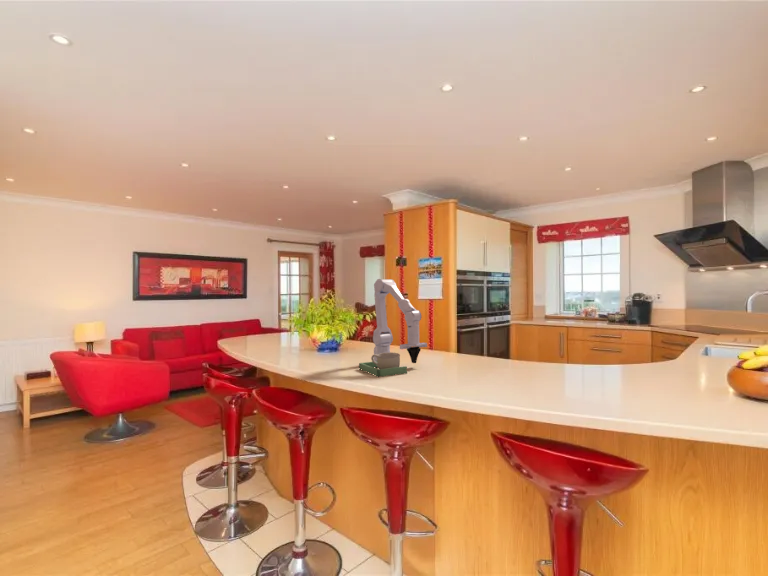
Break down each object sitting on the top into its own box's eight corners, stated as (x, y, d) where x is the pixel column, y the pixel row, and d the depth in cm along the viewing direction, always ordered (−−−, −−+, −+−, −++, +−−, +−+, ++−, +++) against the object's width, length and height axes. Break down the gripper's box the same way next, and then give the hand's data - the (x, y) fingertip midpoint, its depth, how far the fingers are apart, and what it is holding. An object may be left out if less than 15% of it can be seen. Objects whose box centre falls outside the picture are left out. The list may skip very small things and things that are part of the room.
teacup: (404, 370, 181) (404, 353, 181) (392, 374, 172) (392, 356, 172) (379, 367, 188) (379, 351, 188) (367, 371, 179) (366, 354, 179)
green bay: (359, 369, 185) (359, 363, 185) (386, 366, 191) (386, 360, 191) (377, 377, 167) (377, 370, 167) (407, 373, 173) (406, 366, 173)
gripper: (404, 336, 180) (405, 365, 180) (430, 334, 187) (430, 362, 187) (397, 335, 187) (397, 363, 186) (422, 333, 193) (423, 360, 193)
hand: (413, 362), depth 187 cm, fingers closed
